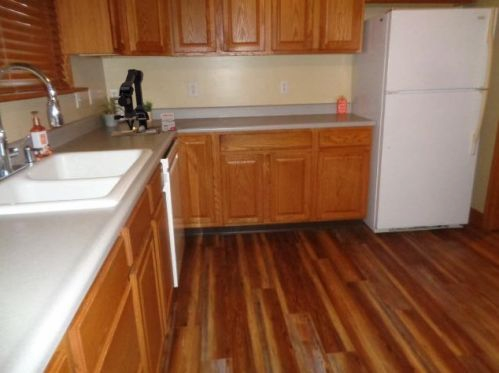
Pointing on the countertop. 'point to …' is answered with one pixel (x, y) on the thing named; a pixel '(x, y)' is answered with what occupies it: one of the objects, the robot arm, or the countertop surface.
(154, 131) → the hinge board
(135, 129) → the loose leaf
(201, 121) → the countertop surface
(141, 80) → the robot arm
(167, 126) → the ink box
